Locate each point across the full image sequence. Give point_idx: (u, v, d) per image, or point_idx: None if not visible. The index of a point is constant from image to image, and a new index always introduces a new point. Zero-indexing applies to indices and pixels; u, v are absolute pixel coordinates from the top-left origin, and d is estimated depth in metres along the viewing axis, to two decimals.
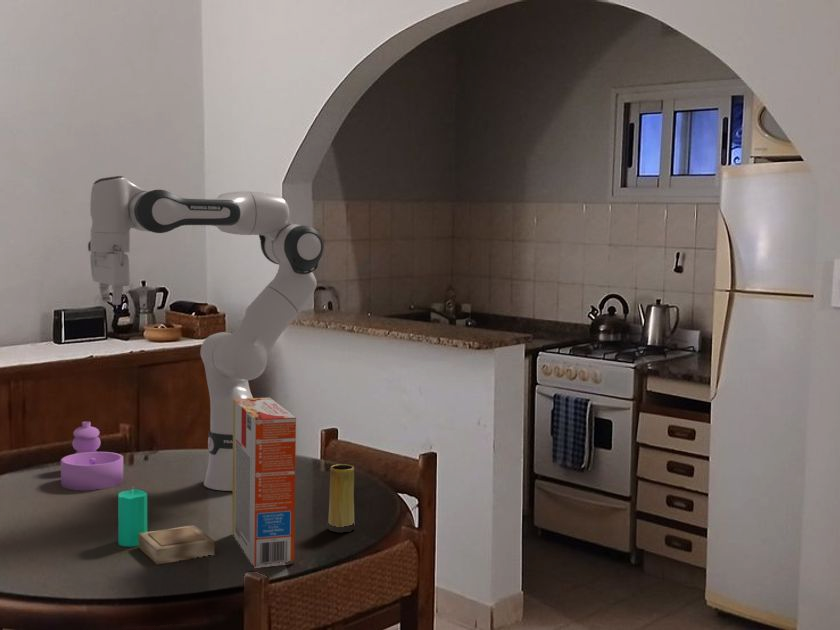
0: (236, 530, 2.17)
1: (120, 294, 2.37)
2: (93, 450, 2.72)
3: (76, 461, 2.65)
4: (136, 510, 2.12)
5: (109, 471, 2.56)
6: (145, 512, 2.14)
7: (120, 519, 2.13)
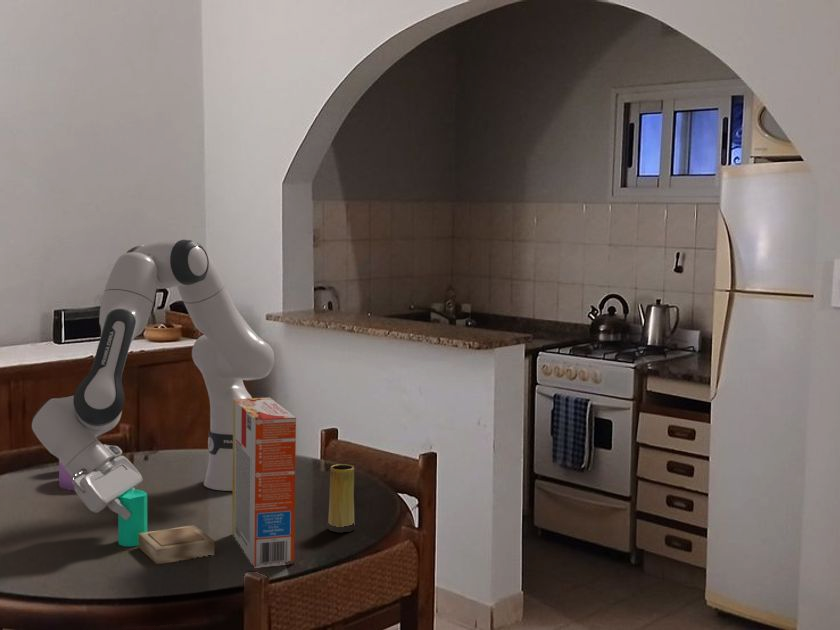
0: (236, 530, 2.17)
1: (121, 507, 2.10)
2: None
3: None
4: (136, 510, 2.12)
5: None
6: (145, 512, 2.14)
7: (120, 519, 2.13)
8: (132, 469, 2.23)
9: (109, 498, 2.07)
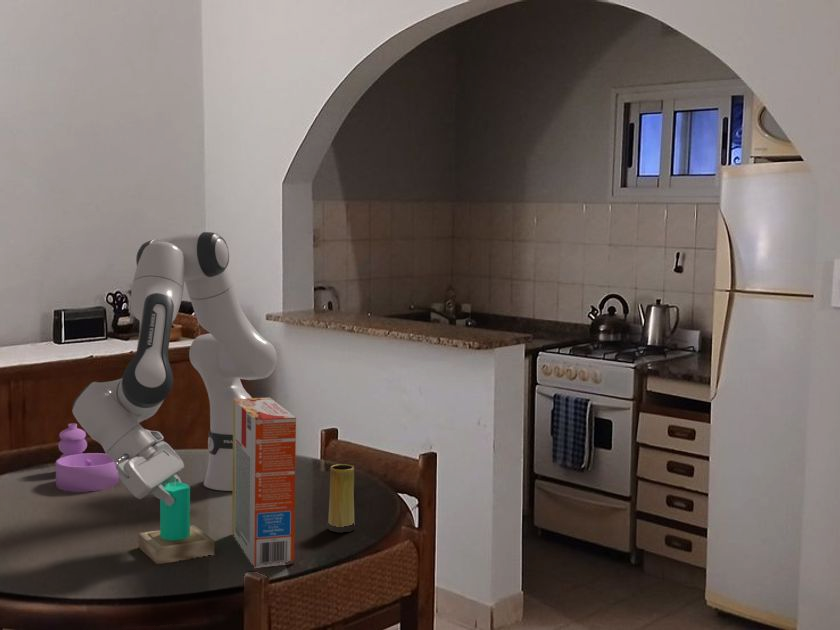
0: (236, 530, 2.17)
1: (164, 493, 2.05)
2: (81, 452, 2.70)
3: (68, 464, 2.63)
4: (179, 503, 2.07)
5: (108, 472, 2.56)
6: (188, 505, 2.09)
7: (163, 512, 2.07)
8: (174, 455, 2.17)
9: (153, 484, 2.01)
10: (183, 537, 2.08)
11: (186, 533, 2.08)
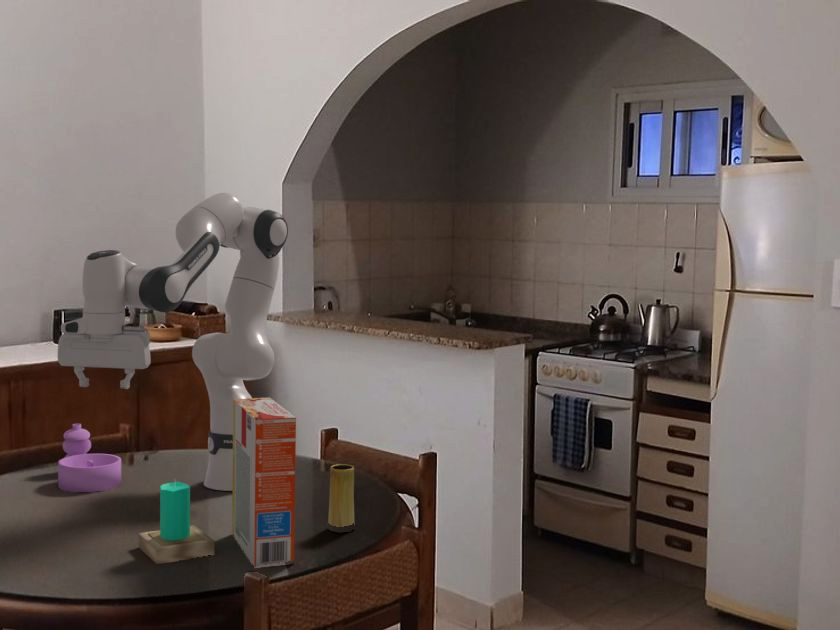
0: (236, 530, 2.17)
1: (131, 377, 2.23)
2: (84, 452, 2.69)
3: (71, 464, 2.62)
4: (179, 503, 2.07)
5: (110, 472, 2.55)
6: (188, 505, 2.09)
7: (163, 512, 2.07)
8: None
9: None
10: (183, 537, 2.08)
11: (186, 533, 2.08)
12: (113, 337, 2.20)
